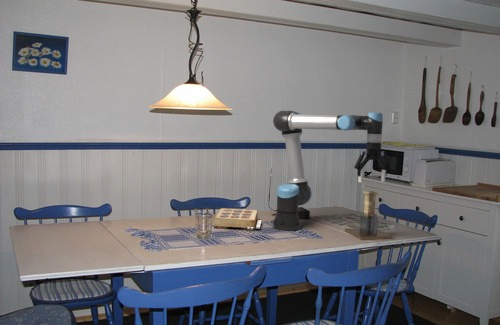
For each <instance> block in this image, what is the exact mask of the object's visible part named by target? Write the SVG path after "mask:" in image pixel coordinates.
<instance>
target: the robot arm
mask: <svg viewBox="0 0 500 325" xmlns="http://www.w3.org/2000/svg"><path fill="white" fill-rule="evenodd" d="M383 116H384V115H383V113H382V112H374V111H373V112H371V111H370V112H368V114H367V115H354V114H350V115H349V114H345V115H344V114H343V115H342V114H340V115H339V114H337V115H335V114H301V113H300V112H299V111H296V110H279V111H278V112H277V113H275V114H274V116H273V119H272V122H273V126H274V128H275V129H276V130H278V131H280V132H281V136H282V137H283V138H284V142H285V150H286V159H287V160H286V161H287V169H288V175H289V176H288V178H289V180H288V181H287V182H286V184H281V185H279V186H277V191H276V196H277V197H276V210H277V211H276V213H275V214H276V215H274V219H273V222H272V228H273V229H276V230H279V231H280V230H281V231H297V230H300V229H301V222H300V219H299V217H298V207H300V206H302V205H306V204H307V203H308V202H309V201H311V198H312V195H313V191H312V188H311V187H310V186H309V183H308V180H307V179H306V178H305V171H304V162H303V154H302V153H303V152H302V144H301V143H302V142H301V136H302V134H303V130H330V131H331V130H332V131H333V130H335V131H355V130H356V131H357V130H358V131H366V141H367V142H366V151H365V150H361V151H360V153H359V156H358V159H357V161H356V163H355V165H354V167H353V168H354V169H355V170H356V172H357V177H358V179H357V180H358V181H357V182H358V183H361V184H362V183H363V172H364V171H363V169H364V167H365V165H366V164H367V163H369V161H373V160H374V161H377V162H378V163H379V165H380V166H381V168H382V169H381V177H380V182H381V183H386V177H387V175H388V171H389V170H390V169H391V165H390V162H389V159H388V157H387V151H385V150H382V139H383V137H382V135H383V125H384V124H383V122H384V121H383V120H384V117H383ZM381 157H382V158H381Z"/></svg>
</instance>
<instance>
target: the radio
mask: <svg viewBox="0 0 500 325" xmlns="http://www.w3.org/2000/svg"><path fill="white" fill-rule="evenodd" d="M270 168H271V169H270V173H272V171H273V169H272V167H270ZM269 180H270V181H269V187H271V185H272V184H271V183H272V177H270V179H269ZM270 198H271V188H269V192H268V208H269V209H270V210H271V211H273V212H277V209H272V208H271V207H270ZM272 216H276V213H273V214H272ZM310 216H311V211H310V210H309V209H307V208H305V207H303V206H298V217H299V220H310V218H311V217H310Z"/></svg>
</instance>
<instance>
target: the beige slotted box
mask: <svg viewBox="0 0 500 325" xmlns="http://www.w3.org/2000/svg"><path fill="white" fill-rule="evenodd" d="M258 214H259V212H258V209H244V208H225V207H224V208H223V207H220V208H219V210H218V211H217V213H216V215H215V217H214V218H213V227H214V229H218V230H227V229H228V228H232V229H233V228H234V229H237V228H242V229H243V230H245V231H253V232H254V231H255V230H256V229H258V230H259V229H261V224H262V219H260V220H259V219H258Z"/></svg>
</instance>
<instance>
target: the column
mask: <svg viewBox="0 0 500 325" xmlns="http://www.w3.org/2000/svg"><path fill="white" fill-rule="evenodd" d="M362 193H363V194H364V210H363V214H362V215H363V216H365V217H367V218H372V217H373V216H374V215H372V214H371V213H375V211H376V198H377V197H376V196H378V195H379V192H377V191H374V190H362ZM375 214H376V213H375Z"/></svg>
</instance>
